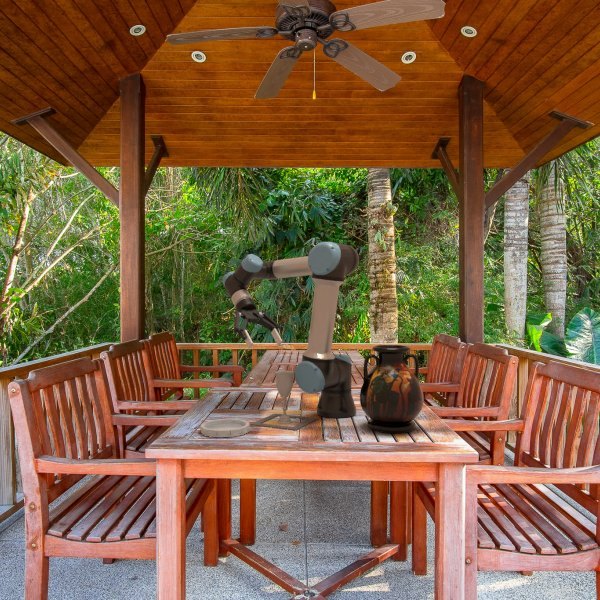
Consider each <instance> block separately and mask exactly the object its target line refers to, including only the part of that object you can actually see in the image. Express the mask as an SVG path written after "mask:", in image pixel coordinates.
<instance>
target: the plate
mask: <svg viewBox="0 0 600 600" xmlns="http://www.w3.org/2000/svg"><path fill="white" fill-rule="evenodd" d="M199 427H200V434H201V433H202V434H203V435H206V436H211V437H233V438H235V437H234V436H239V437H241V436H240V435H243V436H245V435H247V434H249V433H248V432H250V421H247V420H245V419H241V418H218V419H217V418H216V419H211V420H207V421H205V422H202V423H201V424H200V426H199ZM246 433H247V434H246ZM202 434H201V435H202ZM244 434H245V435H244ZM203 435H202V436H203ZM206 436H205V437H206ZM211 437H210V438H211Z"/></svg>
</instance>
